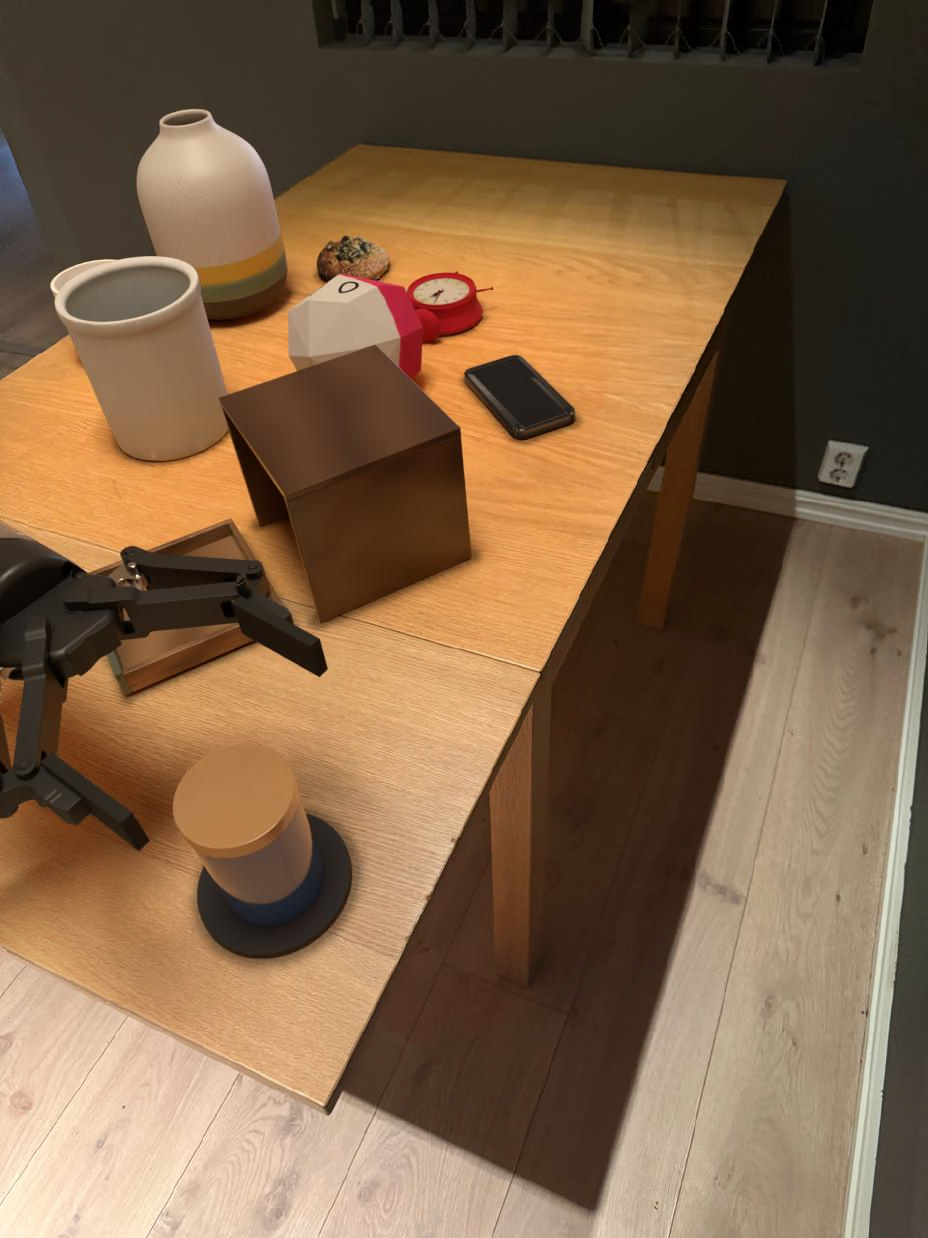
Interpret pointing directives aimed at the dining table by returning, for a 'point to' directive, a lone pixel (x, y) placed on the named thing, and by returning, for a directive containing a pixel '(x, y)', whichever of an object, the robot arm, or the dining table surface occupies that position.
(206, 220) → the vase
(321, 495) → the cabinet
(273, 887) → the jar
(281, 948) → the coaster
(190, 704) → the dining table surface
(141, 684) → the drawer
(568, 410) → the phone
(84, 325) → the utensil holder
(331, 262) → the bread roll
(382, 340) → the decorative object
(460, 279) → the alarm clock
